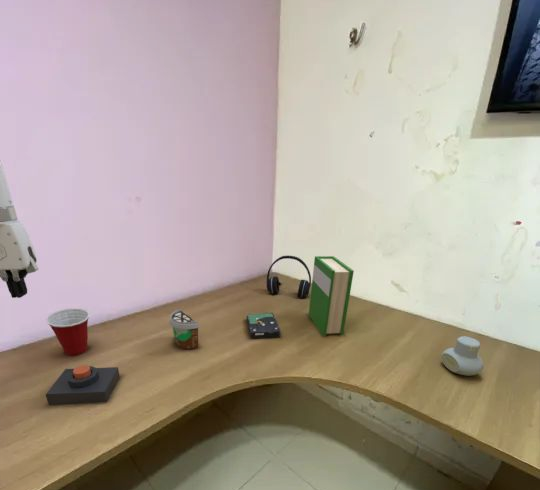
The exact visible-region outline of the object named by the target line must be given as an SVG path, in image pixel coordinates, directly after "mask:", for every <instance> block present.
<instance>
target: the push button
mask: <svg viewBox="0 0 540 490" xmlns="http://www.w3.org/2000/svg"><path fill="white" fill-rule="evenodd" d="M89 366H90V365H87V364H83V365H79V366H76V367H74V368H73V369H74V370H73V374H74V377H75V379H83V378H86V377H88V376H90V375H91V370H90V367H89Z"/></svg>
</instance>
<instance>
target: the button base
mask: <svg viewBox="0 0 540 490" xmlns="http://www.w3.org/2000/svg"><path fill="white" fill-rule="evenodd" d="M88 366H89V367H90V370H91V375H90V376H88V377H86V378H83V379H75V377H74V374H73V370H74V369H75V368H65V369H64V370H63V372H62V373H61V374H60V375H59V376H58V377H57V379H56V380H55V381H54V382H53V384H52V386H51V387H50V388H49V389H48V391H46V392H45V397H46V400H47V403H48V405H50V406H51V405H52V406H53V405H74V404H75V405H77V404H92V403H107V402H108V401H109V399H110V397H111V395H112V393H113V391H114V389H115V387H116V385H117V383H118V382H119V380H120V378H121V375H120V371H119V367H118V366H111V367H95V366H92V365H88Z"/></svg>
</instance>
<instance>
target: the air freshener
mask: <svg viewBox="0 0 540 490" xmlns="http://www.w3.org/2000/svg"><path fill="white" fill-rule="evenodd" d="M480 349H481V343H480V341H479V340H477V339H475V338H472V337H470V336H465V335H463V336H460V337H457V339H456V342H455V345H454V347H450V348H447V349H445V350H444V351H443V352H442V353H441V362H442V363H443V365H444V367H446V368H447V369H448V370H449V371H450V372H452V373H455V374H458V375H461V376H467V377H468V376H475V375H478V374H480V373H481V372H482V371H483V370H484V366H485V365H484V362H483V359H482V358H481V357H480V356H479V355H478V353H479V351H480Z"/></svg>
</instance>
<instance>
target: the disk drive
mask: <svg viewBox="0 0 540 490" xmlns="http://www.w3.org/2000/svg"><path fill="white" fill-rule="evenodd" d="M246 323H247V326H248V331H249V336H250V338H251V339H265V338H267V339H268V338H269V339H270V338H280V337H281V328H280V326H279V324H278V322H277V320H276V317H275V315H274V312H259V313H247V315H246Z"/></svg>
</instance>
